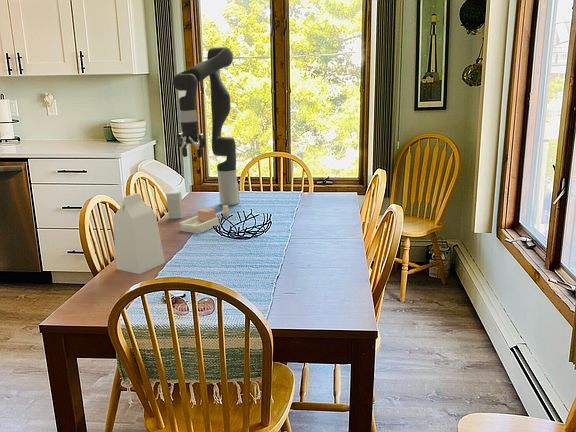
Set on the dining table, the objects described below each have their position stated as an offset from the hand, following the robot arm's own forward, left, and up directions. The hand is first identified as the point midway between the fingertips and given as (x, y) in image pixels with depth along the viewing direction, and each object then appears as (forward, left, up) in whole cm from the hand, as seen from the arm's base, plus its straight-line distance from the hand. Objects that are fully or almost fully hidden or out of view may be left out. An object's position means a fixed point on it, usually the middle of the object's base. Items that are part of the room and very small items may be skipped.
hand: (192, 157), depth 252 cm
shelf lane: (+13, +12, -28) cm, 33 cm away
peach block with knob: (+2, +12, -27) cm, 30 cm away
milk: (+58, +23, -28) cm, 69 cm away
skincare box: (+4, -10, -28) cm, 30 cm away
